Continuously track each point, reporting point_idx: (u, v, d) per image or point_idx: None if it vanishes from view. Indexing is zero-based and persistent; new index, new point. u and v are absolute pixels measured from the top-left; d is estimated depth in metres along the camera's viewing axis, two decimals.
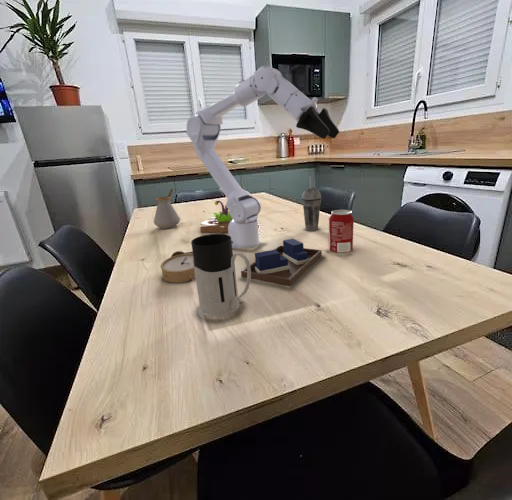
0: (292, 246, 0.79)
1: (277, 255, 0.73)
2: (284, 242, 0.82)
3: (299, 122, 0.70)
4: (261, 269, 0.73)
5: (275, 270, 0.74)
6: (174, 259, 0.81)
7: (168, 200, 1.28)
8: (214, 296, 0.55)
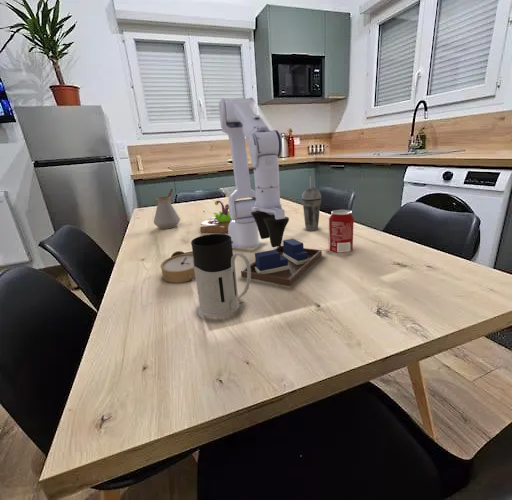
0: (292, 246, 0.79)
1: (277, 255, 0.73)
2: (284, 242, 0.82)
3: None
4: (261, 269, 0.73)
5: (275, 270, 0.74)
6: (174, 259, 0.81)
7: (168, 200, 1.28)
8: (214, 296, 0.55)
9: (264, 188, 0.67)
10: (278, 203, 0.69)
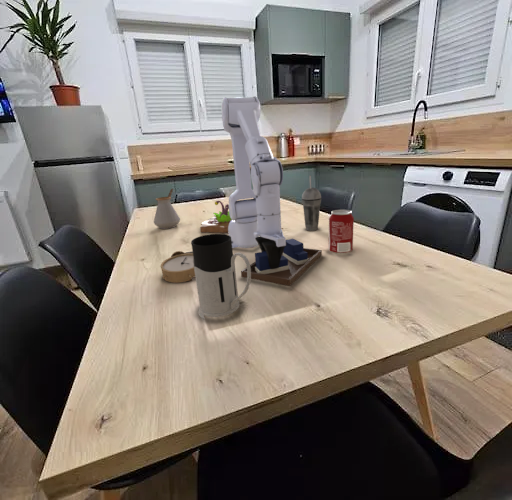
0: (292, 246, 0.79)
1: None
2: None
3: None
4: (261, 269, 0.73)
5: (275, 270, 0.74)
6: (174, 259, 0.81)
7: (168, 200, 1.28)
8: (214, 296, 0.55)
9: (266, 215, 0.69)
10: (279, 229, 0.71)
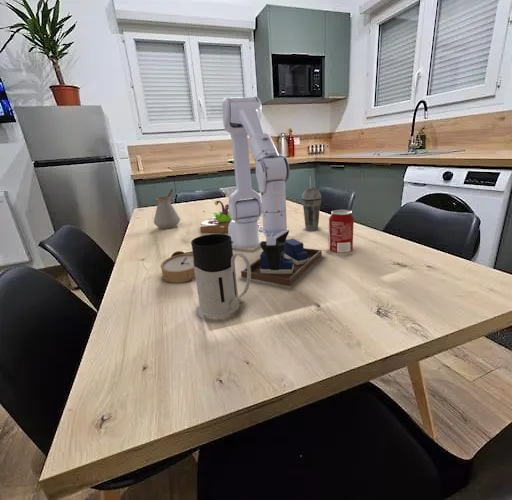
0: (292, 246, 0.79)
1: None
2: None
3: None
4: (262, 268, 0.74)
5: (277, 272, 0.73)
6: (174, 259, 0.81)
7: (168, 200, 1.28)
8: (214, 296, 0.55)
9: (266, 212, 0.68)
10: (280, 228, 0.69)
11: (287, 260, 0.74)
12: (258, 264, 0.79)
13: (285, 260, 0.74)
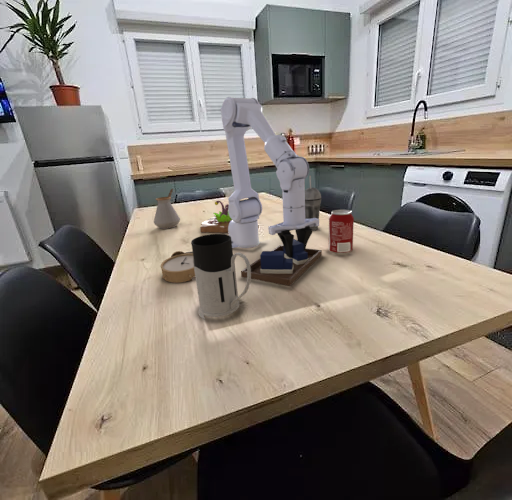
0: (292, 246, 0.79)
1: (279, 257, 0.72)
2: None
3: (278, 233, 0.79)
4: (262, 268, 0.74)
5: (277, 272, 0.73)
6: (174, 259, 0.81)
7: (168, 200, 1.28)
8: (214, 296, 0.55)
9: (304, 205, 0.77)
10: None
11: (287, 260, 0.74)
12: (258, 264, 0.79)
13: (285, 260, 0.74)
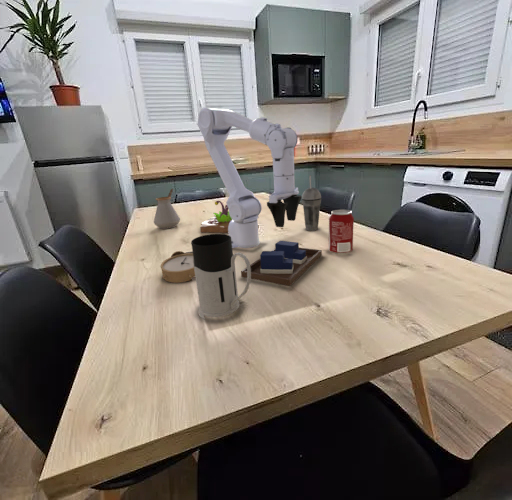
0: (292, 247, 0.78)
1: (279, 257, 0.72)
2: (277, 245, 0.80)
3: (270, 204, 0.79)
4: (262, 268, 0.74)
5: (277, 272, 0.73)
6: (174, 259, 0.81)
7: (168, 200, 1.28)
8: (214, 296, 0.55)
9: None
10: None
11: (287, 260, 0.74)
12: (258, 264, 0.79)
13: (285, 260, 0.74)
